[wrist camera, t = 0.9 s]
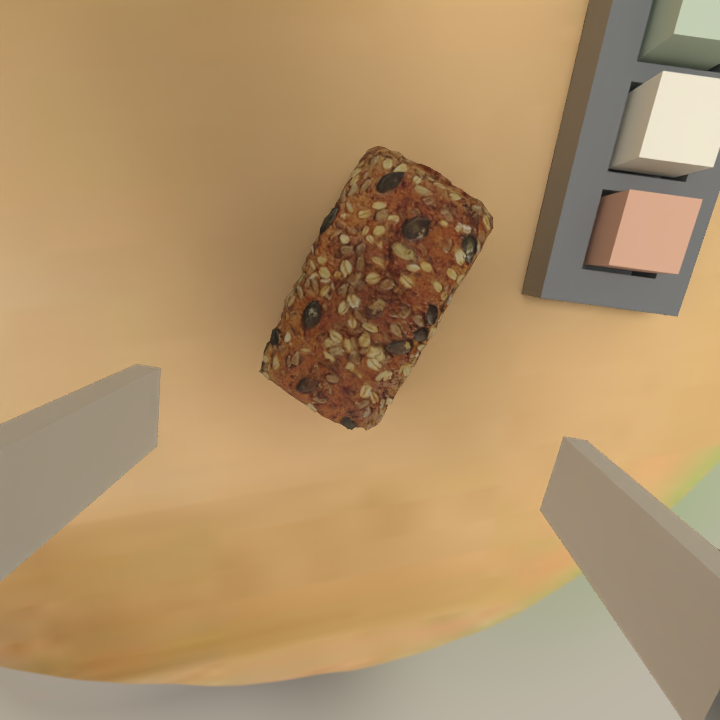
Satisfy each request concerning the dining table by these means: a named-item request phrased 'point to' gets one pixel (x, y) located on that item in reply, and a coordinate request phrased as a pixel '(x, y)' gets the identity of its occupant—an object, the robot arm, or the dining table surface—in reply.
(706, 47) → the key sage
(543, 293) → the keypad board
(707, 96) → the key cream
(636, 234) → the key terracotta
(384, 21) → the dining table surface
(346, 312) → the bread
